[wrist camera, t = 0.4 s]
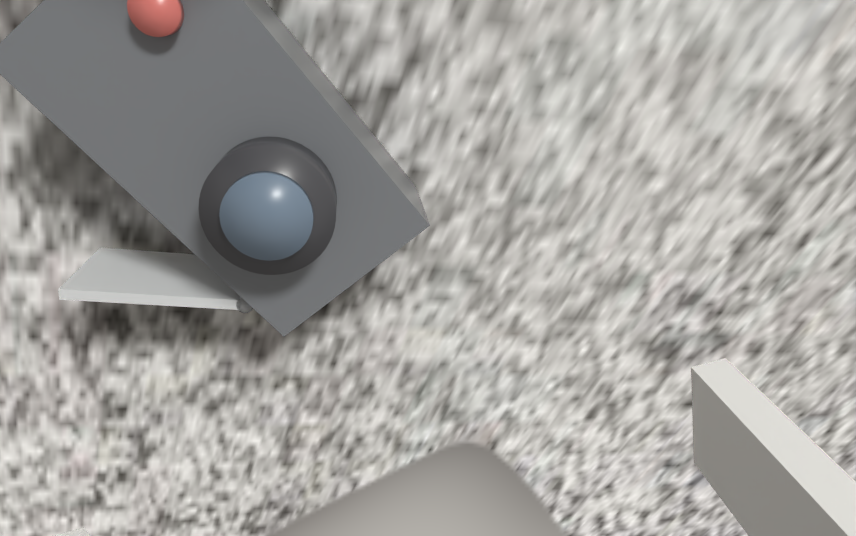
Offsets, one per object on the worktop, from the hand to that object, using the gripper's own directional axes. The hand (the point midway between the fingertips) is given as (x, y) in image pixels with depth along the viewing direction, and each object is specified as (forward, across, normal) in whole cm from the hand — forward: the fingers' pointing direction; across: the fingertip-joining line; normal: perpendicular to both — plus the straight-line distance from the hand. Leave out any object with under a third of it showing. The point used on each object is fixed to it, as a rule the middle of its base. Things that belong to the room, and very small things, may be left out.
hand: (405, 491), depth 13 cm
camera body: (+26, -6, +4) cm, 27 cm away
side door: (+25, -12, -2) cm, 28 cm away
